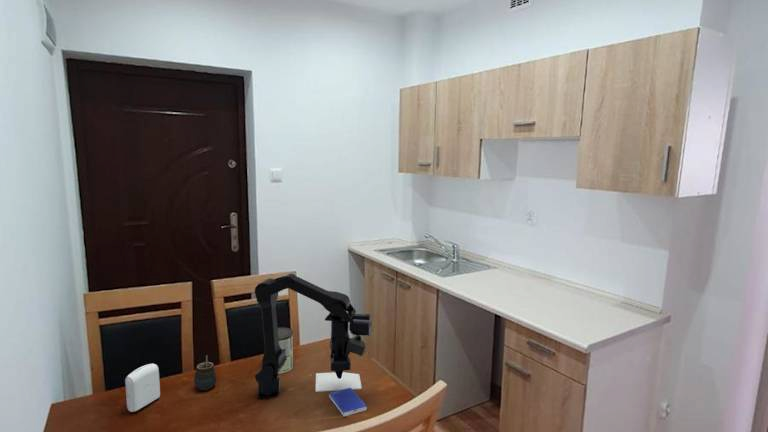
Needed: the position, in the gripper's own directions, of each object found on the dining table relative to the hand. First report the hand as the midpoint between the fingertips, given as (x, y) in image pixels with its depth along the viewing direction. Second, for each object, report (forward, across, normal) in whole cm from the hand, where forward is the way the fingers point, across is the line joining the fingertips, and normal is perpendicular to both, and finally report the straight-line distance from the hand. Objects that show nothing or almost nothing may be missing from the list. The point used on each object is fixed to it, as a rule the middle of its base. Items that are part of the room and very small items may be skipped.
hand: (339, 378), depth 139 cm
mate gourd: (+8, +13, +46) cm, 49 cm away
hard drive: (+7, +3, 0) cm, 7 cm away
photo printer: (+8, +4, +63) cm, 64 cm away
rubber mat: (+7, +12, 0) cm, 14 cm away
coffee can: (+8, +25, +22) cm, 34 cm away
